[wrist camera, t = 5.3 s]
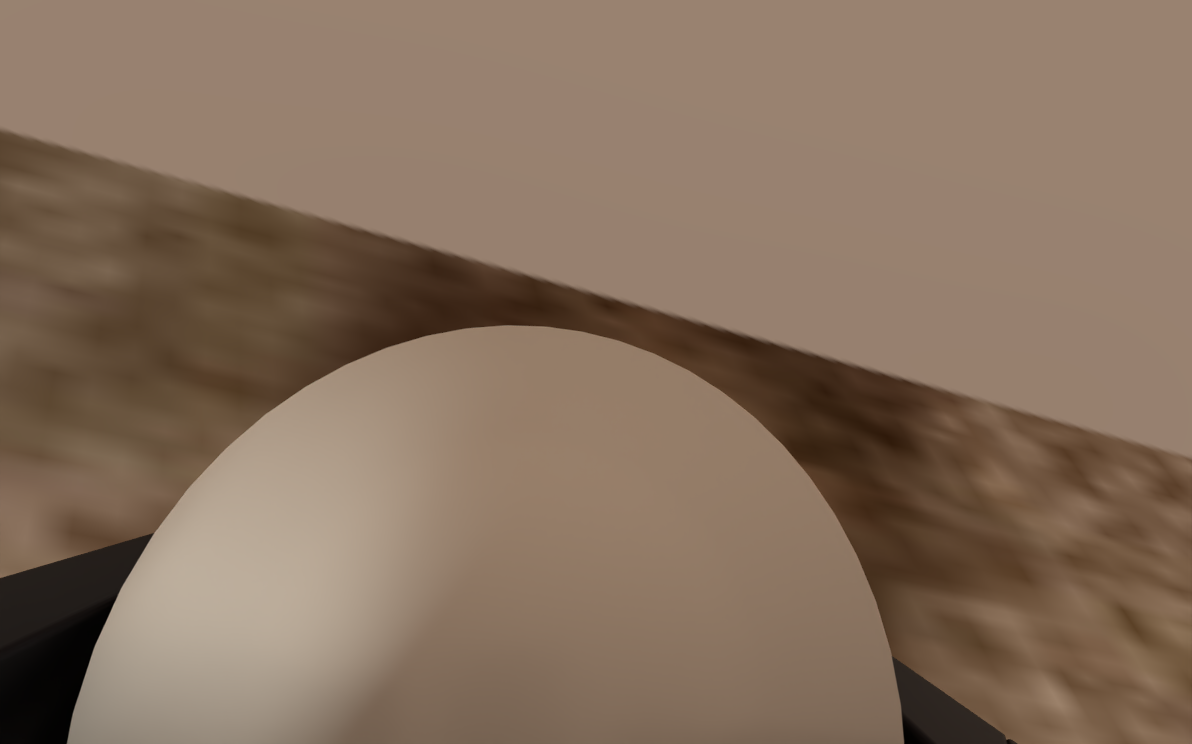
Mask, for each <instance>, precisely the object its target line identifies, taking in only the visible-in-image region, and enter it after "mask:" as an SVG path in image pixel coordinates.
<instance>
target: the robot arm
mask: <svg viewBox="0 0 1192 744" xmlns="http://www.w3.org/2000/svg"><path fill="white" fill-rule="evenodd" d="M153 535H154V533H153V534H149V535H146V536H142V537H139V538H136V539H132V540H129V541H125V542H122V543H119V544H115V545H112V546H108V547H105V548H102V549H98V550H95V551H91V552H88V553H85V554H81V555H78V556H74V557H71V558H67V559H64V560H61V561H57V562H54V563H50V564H47V565H44V566H40V567H37V568H33V569H30V570H27V571H23V572H20V573H16V574H13V575H10V576H6V577H3V578H0V744H67V741H68V736H69V731H70V726H71V720H72V715H73V712H74V708H75V705H76V702H77V699H78V696H79V693H80V690H81V687H82V684H83V681H84V678H85V675H86V672H87V668H88V665H89V662H90V659H91V656H92V653H93V650H94V647H95V645H96V643H97V640H98V638H99V636H100V634H101V632H102V630H103V627H104V625H105V623H106V621H107V619H108V616H109V614H110V612H111V610H112V608H113V605H114V603H115V601H116V599H117V597H118V595H119V592H120V590H121V588H122V586H123V585H124V583H125V581H126V580H127V578H128V576H129V575H130V573H131V571H132V570H133V568H134V566H135V565H136V563H137V561H138V560H139V558H140V556H141V555H142V553H143V551H144V550H145V548H146V546H147V545H148V543H149V541H150V540H151V538H152V536H153ZM892 661H893V666H894V671H895V677H896V682H897V687H898V693H899V698H900V703H901V713H902V725H903V737H904V744H1017V743H1016V742H1014V741H1013V740H1011V739H1008V740H1006V737H1005V735H1004V734H1003V733H1001V732H1000V731H998V730H997V729H995V728H994V727H993V726H991V725H990V724H988V723H987V722H985V721H984V720H983V719H981V718H980V717H978V716H977V715H975V714H974V713H973V712H971V711H970V710H968V709H967V708H965V707H964V706H963V705H961V704H960V703H958V702H957V701H955V700H954V699H953V698H951V697H950V696H948V695H947V694H945V693H944V692H943V691H941V690H940V689H938V688H937V687H935V686H934V685H933V684H931V683H930V682H928V681H927V680H925V679H924V678H923V677H921V676H920V675H918V674H917V673H915V672H914V671H913V670H911V669H910V668H908V667H907V666H905V665H904V664H903V663H901V662H900V661H898V660H897V659H895V658H894V657H893V656H892Z"/></svg>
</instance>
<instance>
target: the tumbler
mask: <svg viewBox="0 0 1192 744" xmlns="http://www.w3.org/2000/svg"><path fill="white" fill-rule="evenodd" d="M67 744H904V737H903V725H902V713H901V703H900V698H899V693H898V687H897V682H896V677H895V671H894V666H893V661H892V656H891V650H890V647H889V644H888V640H887V637H886V634H885V630H884V627H883V624H882V620H881V617H880V614H879V610H878V607H877V603H876V600H875V598H874V595H873V593H872V591H871V588H870V586H869V583H868V581H867V579H866V576H865V574H864V571H863V569H862V566H861V564H860V562H859V559H858V557H857V555H856V553H855V551H854V549H853V547H852V545H851V543H850V541H849V540H848V538H847V536H846V534H845V532H844V530H843V528H842V527H841V525H840V523H839V521H838V519H837V517H836V515H835V514H834V512H833V511H832V509H831V508H830V506H829V505H828V503H827V502H826V500H825V499H824V497H823V496H822V494H821V493H820V491H819V490H818V489H817V487H816V486H815V484H814V483H813V481H812V480H811V478H810V477H809V476H808V474H807V473H806V472H805V471H804V470H803V468H802V467H801V466H800V465H799V464H798V462H797V461H796V460H795V459H794V458H793V456H792V455H791V454H790V453H789V452H788V451H787V449H786V448H785V447H784V446H783V445H782V444H781V443H780V442H779V441H778V440H777V439H776V438H775V437H774V436H773V435H772V434H771V433H770V432H769V431H768V430H767V429H766V428H765V427H764V426H763V425H762V424H761V423H760V422H759V421H758V420H757V419H756V418H755V417H754V416H752V415H751V414H750V413H749V412H747V411H746V410H745V409H744V408H742V407H741V406H740V405H738V404H737V403H736V402H735V401H733V400H732V399H731V398H730V397H728V396H727V395H726V394H725V393H723V392H722V391H720V390H719V389H717V388H716V387H714V386H712V385H711V384H709V383H708V382H706V381H705V380H703V379H701V378H700V377H698V376H697V375H695V374H693V373H692V372H690V371H689V370H687V369H685V368H682V367H680V366H678V365H676V364H674V363H672V362H670V361H668V360H666V359H664V358H662V357H660V356H658V355H656V354H654V353H651V352H648V351H646V350H643V349H640V348H637V347H635V346H632V345H629V344H626V343H624V342H621V341H618V340H614V339H610V338H606V337H602V336H598V335H594V334H590V333H586V332H581V331H574V330H566V329H559V328H552V327H544V326H511V325H504V326H491V327H478V328H466V329H461V330H455V331H450V332H445V333H439V334H434V335H428V336H424V337H421V338H418V339H414V340H411V341H408V342H404V343H401V344H398V345H394V346H391V347H388V348H385V349H382V350H380V351H378V352H375V353H373V354H370V355H368V356H366V357H363V358H361V359H358V360H356V361H354V362H351V363H349V364H346V365H344V366H343V367H341V368H339V369H337V370H335V371H334V372H332V373H330V374H328V375H326V376H324V377H323V378H321V379H319V380H317V381H315V382H313V383H312V384H310V385H308V386H306V387H304V388H303V389H302V390H300V391H299V392H297V393H296V394H294V395H293V396H291V397H290V398H289V399H287V400H286V401H284V402H283V403H281V404H280V405H278V406H277V407H276V408H274V409H273V410H271V411H270V412H268V413H267V414H265V415H264V416H263V417H262V418H261V419H260V420H258V421H257V422H256V423H255V424H254V425H253V426H251V427H250V428H249V429H248V430H247V431H246V432H244V433H243V434H242V435H241V436H240V437H239V438H238V439H236V440H235V441H234V442H233V443H232V444H231V445H229V446H228V447H227V448H226V449H225V450H224V451H223V452H222V453H221V454H220V455H219V456H218V457H217V459H216V460H215V461H214V462H213V463H212V464H211V465H210V466H209V467H208V468H207V469H206V470H205V471H204V472H203V473H202V474H201V476H200V477H199V478H198V479H197V480H196V481H195V482H194V483H193V484H192V485H191V486H190V487H189V488H188V490H187V491H186V492H185V494H184V495H183V496H182V498H181V499H180V500H179V502H178V503H177V504H176V505H175V507H174V508H173V509H172V511H171V512H170V513H169V515H168V516H167V517H166V519H165V520H164V521H163V523H162V524H161V525H160V527H159V528H158V529H157V531H156V532H155V533H154V535H153V536H152V538H151V540H150V541H149V543H148V545H147V546H146V548H145V550H144V551H143V553H142V555H141V556H140V558H139V560H138V561H137V563H136V565H135V566H134V568H133V570H132V571H131V573H130V575H129V576H128V578H127V580H126V581H125V583H124V585H123V586H122V588H121V590H120V592H119V595H118V597H117V599H116V601H115V603H114V605H113V608H112V610H111V612H110V614H109V616H108V619H107V621H106V623H105V625H104V627H103V630H102V632H101V634H100V636H99V638H98V640H97V643H96V645H95V647H94V650H93V653H92V656H91V659H90V662H89V665H88V668H87V672H86V675H85V678H84V681H83V684H82V687H81V690H80V693H79V696H78V699H77V702H76V705H75V708H74V712H73V715H72V720H71V726H70V731H69V736H68V741H67Z"/></svg>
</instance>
